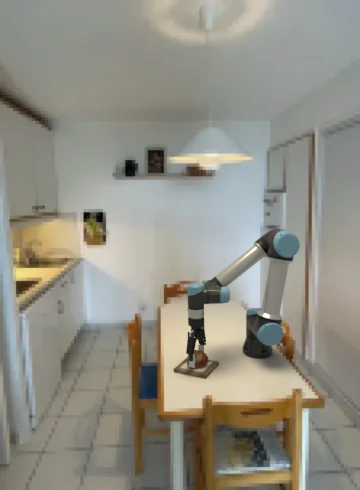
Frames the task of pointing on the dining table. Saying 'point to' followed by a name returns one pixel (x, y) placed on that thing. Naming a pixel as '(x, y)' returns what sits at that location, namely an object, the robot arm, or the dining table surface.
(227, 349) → the dining table surface
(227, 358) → the dining table surface
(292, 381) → the dining table surface
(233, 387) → the dining table surface
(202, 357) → the bread roll
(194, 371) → the walnut frame
